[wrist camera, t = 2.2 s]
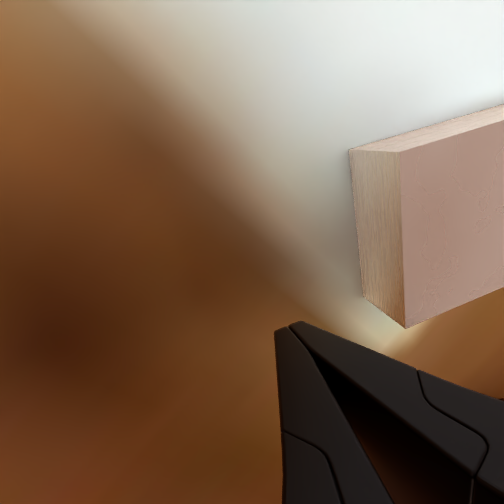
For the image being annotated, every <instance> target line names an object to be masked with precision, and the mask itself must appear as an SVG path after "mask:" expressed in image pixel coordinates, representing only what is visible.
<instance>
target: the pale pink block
mask: <svg viewBox="0 0 504 504" xmlns="http://www.w3.org/2000/svg"><path fill="white" fill-rule="evenodd" d="M349 157H350V167H351V178H352V188H353V198H354V208H355V218H356V228H357V238H358V248H359V258H360V268H361V279H362V289H363V297H364V298H366V299H367V300H368V301H369V302H371V303H372V304H373V305H375V306H376V307H377V308H379V309H380V310H381V311H383V312H384V313H385V314H387V315H388V316H389V317H391V318H392V319H393V320H395V321H396V322H397V323H399V324H400V325H401V326H403V327H404V328H405V329H406V328H409V327H411V326H413V325H416V324H418V323H420V322H423V321H425V320H427V319H430V318H432V317H434V316H437V315H439V314H441V313H444V312H446V311H448V310H451V309H453V308H455V307H458V306H460V305H462V304H465V303H467V302H469V301H472V300H474V299H476V298H479V297H481V296H483V295H486V294H488V293H490V292H493V291H495V290H497V289H500V288H502V287H504V104H502V105H498V106H495V107H492V108H488V109H485V110H481V111H478V112H475V113H471V114H468V115H464V116H461V117H458V118H454V119H451V120H447V121H444V122H441V123H437V124H434V125H430V126H427V127H424V128H420V129H417V130H413V131H410V132H407V133H403V134H400V135H397V136H393V137H390V138H386V139H383V140H380V141H376V142H373V143H369V144H366V145H363V146H359V147H356V148H352V149H349Z"/></svg>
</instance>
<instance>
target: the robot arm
mask: <svg viewBox="0 0 504 504" xmlns="http://www.w3.org/2000/svg"><path fill="white" fill-rule="evenodd" d="M274 341H275V356H276V370H277V384H278V398H279V413H280V427H281V444H282V466H283V485H282V504H504V401H502V400H499V399H496V398H493V397H490V396H487V395H484V394H481V393H478V392H476V391H473V390H470V389H467V388H464V387H461V386H459V385H456V384H454V383H451V382H449V381H446V380H443V379H441V378H438V377H436V376H433V375H431V374H429V373H426V372H424V371H421V370H416V368H414V367H412V366H409V365H407V364H404V363H402V362H400V361H397V360H395V359H392V358H390V357H388V356H385V355H383V354H380V353H378V352H376V351H373V350H371V349H368V348H366V347H364V346H361V345H359V344H356V343H354V342H352V341H349V340H347V339H344V338H342V337H340V336H337V335H335V334H332V333H330V332H328V331H325V330H323V329H320V328H318V327H316V326H313V325H311V324H309V323H306V322H304V321H298V322H296V323H293V324H290V325H289V326H288V327H283V328H280V329H278V330H275V331H274Z"/></svg>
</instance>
